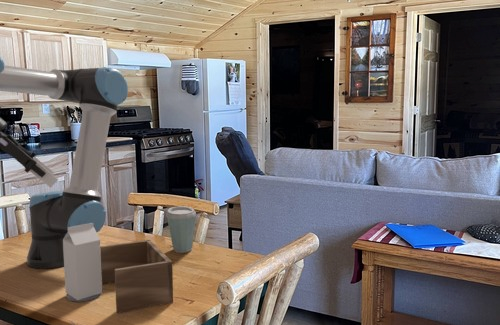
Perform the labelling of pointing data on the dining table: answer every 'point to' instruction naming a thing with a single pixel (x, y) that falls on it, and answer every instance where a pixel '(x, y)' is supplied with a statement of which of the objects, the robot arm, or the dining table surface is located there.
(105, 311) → the dining table surface
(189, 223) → the disposable coffee cup
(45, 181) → the robot arm
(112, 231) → the dining table surface
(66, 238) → the milk carton
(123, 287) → the walnut cubby
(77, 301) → the disc
